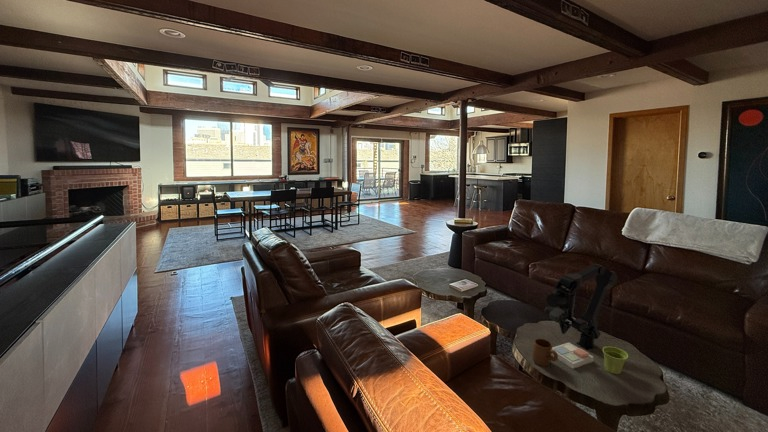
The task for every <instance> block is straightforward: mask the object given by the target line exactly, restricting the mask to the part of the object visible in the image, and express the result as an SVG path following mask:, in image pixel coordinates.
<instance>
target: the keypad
mask: <svg viewBox="0 0 768 432" xmlns="http://www.w3.org/2000/svg"><path fill="white" fill-rule="evenodd" d="M569 344H570V345H572V346H573V347H575V348H577V349H579V347H577V346H576V345H574V344H572V343H571V342H565V343H563V344H559V345H556V346H552V350H554V349H556V348H559V347H562V348H563V349H565V348H564V347H563V346H566V345H569ZM565 350H567V349H565ZM554 351H555V350H554ZM567 351H568V350H567ZM568 352H569V353H567V354H564V355H561V354H560V353H558V352H557V351H556V353H557V354H558V359H557V360H558V361H560V362H561V363H562V364H564V365H565V366H567V367H568V368H570V369H572V370H574V369H577V368H579V367H583V366H585V365H589V364H590V363H593V362H594V356H593V355H591V354H590V353H589V356H588V357H586V358H583V359H581V358H580V357H578V356H577V355H575V354H573V352H574V351H573V352H570V351H568ZM571 353H572V354H573V355H575V356H576V357H578V358H580V360H577V361H574V362H572V361H571V360H569V359H568V358H566V357H565V355H568V354H571ZM551 356H552V357H554V354H551Z"/></svg>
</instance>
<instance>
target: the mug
mask: <svg viewBox="0 0 768 432" xmlns="http://www.w3.org/2000/svg"><path fill="white" fill-rule="evenodd" d="M552 347H553V344H552V342H551V341H549V340H547V339H544V338H537V339H535V340H534V342H533V349H532V361H533V362H534V363H535V364H536V365H537V366H541V367H548V366H549V365H550V364H551V361H552V362H556V361H557V360H558V354H557V353H556V351H554V350H552ZM551 354H554V356H552V355H551Z"/></svg>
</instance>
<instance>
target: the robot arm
mask: <svg viewBox="0 0 768 432" xmlns="http://www.w3.org/2000/svg"><path fill="white" fill-rule="evenodd" d="M593 278H594V282H595V287H594V288H595V289H594V290H593V293H592V295H591V298H590V301H589V303H588V306H587V308H586V311H585V313H583V314H579V316H578V317H577V318H575V315H576V314H575V313H574V309H576V308H577V305H576V304H575V301H576V294H579V293H580V292H579V291H578V290H579V289H580V288H581V287H582V284H583V283H585V282H588V281H589V280H591V279H593ZM617 280H618V275H617V273H616V272H615V271H611V270H609V269H607V268H606V267H605V266H603V265H600V264H598V263H593V264H591V265H590V266H588V267H586V268H584V269H582V270H579V271H577V272H576V273H567V274H564V275H562V276H561V277H560V278H559V280H558V281H557V282H556V285H555V287H554V290H555V291H551V292H550V294H548V295H547V296H546V303H547V305H548V306H546V307H545V309H544V313H545V314H547V315H549V318H550V320H552V321H554V322H556V323H558V324H559V327H560V331H561V334H562V335H565V334H566V333H567V332H568V330H569V329H570V328H571V327H572V328H574V329H575V330H576V331H577V332H579V333H580V337H579V341H576V344H577V345H579V346H580V347H582V348H583V349H586V350H587V351H588V350H592V349H596V348H597V347H598V346H597V345H596V344H595V340H599V338H600V336H601V332H600V330H599V329H598V327H599V321H598V319H597V318H598V316H599V312H600V310H601V308H602V305H603V304H604V303H603V302H604V299H605V297H606V295H607V293H608V290H609V289H611V288H612V287H614V286H615V284H616V282H617Z"/></svg>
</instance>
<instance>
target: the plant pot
mask: <svg viewBox="0 0 768 432" xmlns="http://www.w3.org/2000/svg"><path fill="white" fill-rule="evenodd" d="M602 352H603V358H604V360H603V362H604V363H603V365H604V369H605V371H607V372H608V373H610V374H615V375H619V374H621V373H622V371H623V367H624V365H625V362H626V361H627V359H628V358H629V354H628V353H627V352H626V351H625V350H623V349H621V348H619V347H614V346H604V347H602Z"/></svg>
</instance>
